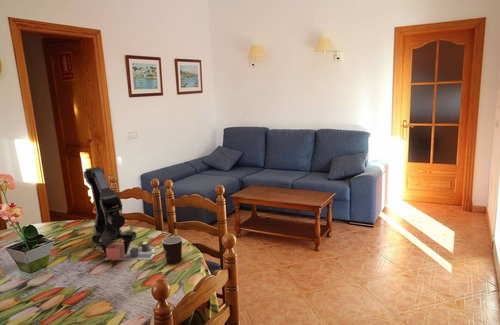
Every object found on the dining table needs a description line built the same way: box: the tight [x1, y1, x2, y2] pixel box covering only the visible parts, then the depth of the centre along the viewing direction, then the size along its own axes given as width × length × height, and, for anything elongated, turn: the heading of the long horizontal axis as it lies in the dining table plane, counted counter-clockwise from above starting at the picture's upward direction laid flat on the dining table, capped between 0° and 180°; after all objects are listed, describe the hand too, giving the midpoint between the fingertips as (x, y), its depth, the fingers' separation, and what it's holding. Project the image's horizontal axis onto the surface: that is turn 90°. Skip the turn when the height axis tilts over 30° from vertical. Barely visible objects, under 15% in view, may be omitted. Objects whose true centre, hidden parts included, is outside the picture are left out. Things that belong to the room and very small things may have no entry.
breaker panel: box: [103, 245, 161, 261], centre depth 175 cm, size 22×13×2 cm, turn 85°
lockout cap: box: [105, 242, 125, 259], centre depth 172 cm, size 6×6×5 cm
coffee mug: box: [161, 235, 183, 266], centre depth 168 cm, size 12×9×10 cm
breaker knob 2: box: [140, 241, 150, 251], centre depth 177 cm, size 2×3×3 cm
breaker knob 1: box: [130, 246, 139, 257], centre depth 171 cm, size 2×3×3 cm
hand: (116, 254), depth 173 cm, fingers open, 9 cm apart
